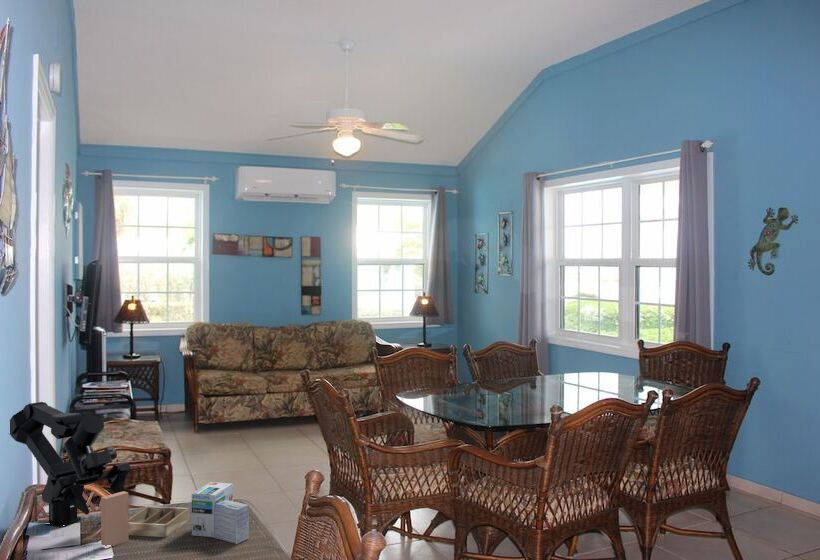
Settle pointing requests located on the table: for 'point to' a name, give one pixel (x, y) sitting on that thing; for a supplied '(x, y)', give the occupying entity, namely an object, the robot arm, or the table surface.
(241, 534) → the medicine box
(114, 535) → the rectangular block
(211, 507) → the light bulb box
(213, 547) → the table surface
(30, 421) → the robot arm
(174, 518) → the slot box
